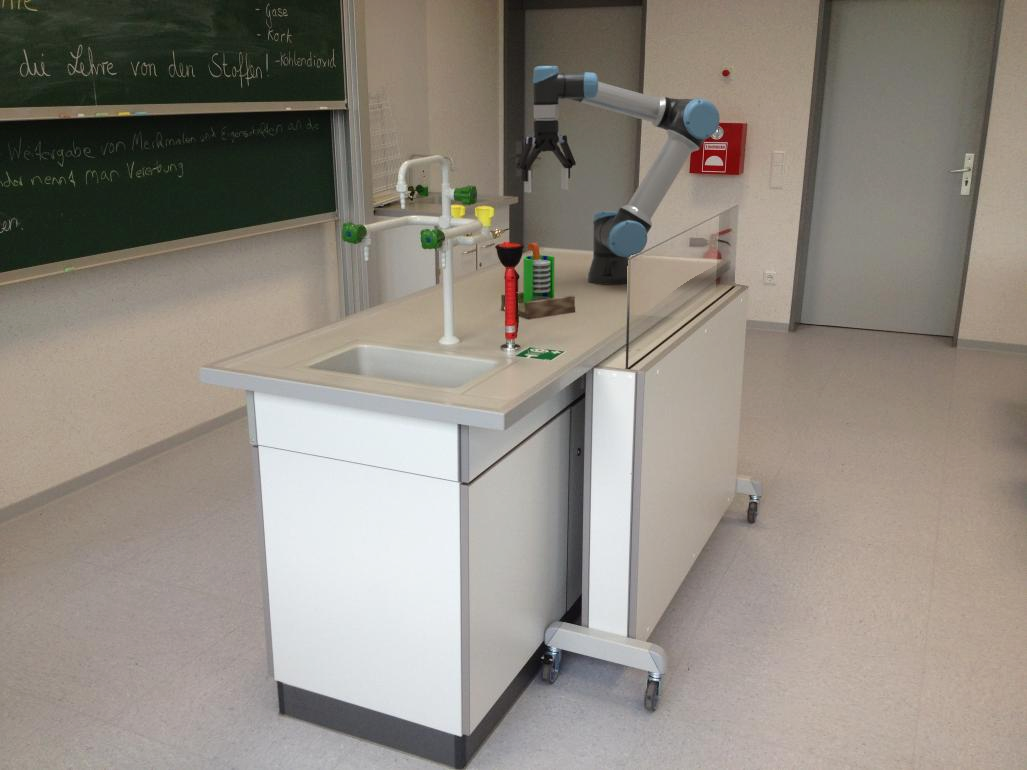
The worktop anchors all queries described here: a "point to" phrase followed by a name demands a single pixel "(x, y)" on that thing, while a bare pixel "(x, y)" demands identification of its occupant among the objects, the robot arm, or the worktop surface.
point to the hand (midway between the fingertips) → (546, 191)
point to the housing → (543, 306)
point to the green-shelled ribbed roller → (537, 276)
